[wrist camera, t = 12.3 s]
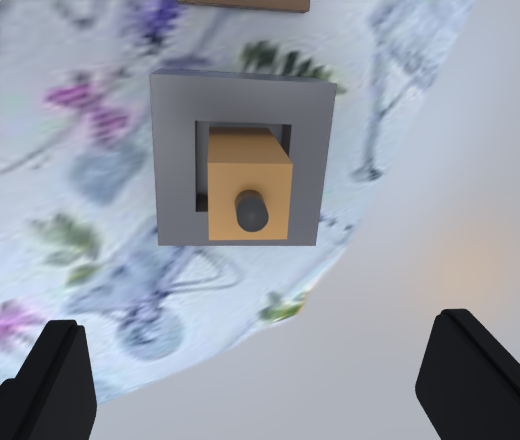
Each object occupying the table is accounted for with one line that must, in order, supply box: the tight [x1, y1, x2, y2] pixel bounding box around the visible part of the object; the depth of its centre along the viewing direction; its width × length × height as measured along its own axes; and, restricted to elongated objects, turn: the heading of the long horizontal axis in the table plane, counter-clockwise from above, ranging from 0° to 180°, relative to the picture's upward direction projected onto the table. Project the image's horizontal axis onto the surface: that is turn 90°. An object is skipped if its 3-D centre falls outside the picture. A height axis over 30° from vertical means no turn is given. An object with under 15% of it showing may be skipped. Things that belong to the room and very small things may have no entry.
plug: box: [208, 127, 293, 240], centre depth 25 cm, size 4×4×12 cm
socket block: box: [150, 69, 337, 246], centre depth 30 cm, size 12×12×6 cm
